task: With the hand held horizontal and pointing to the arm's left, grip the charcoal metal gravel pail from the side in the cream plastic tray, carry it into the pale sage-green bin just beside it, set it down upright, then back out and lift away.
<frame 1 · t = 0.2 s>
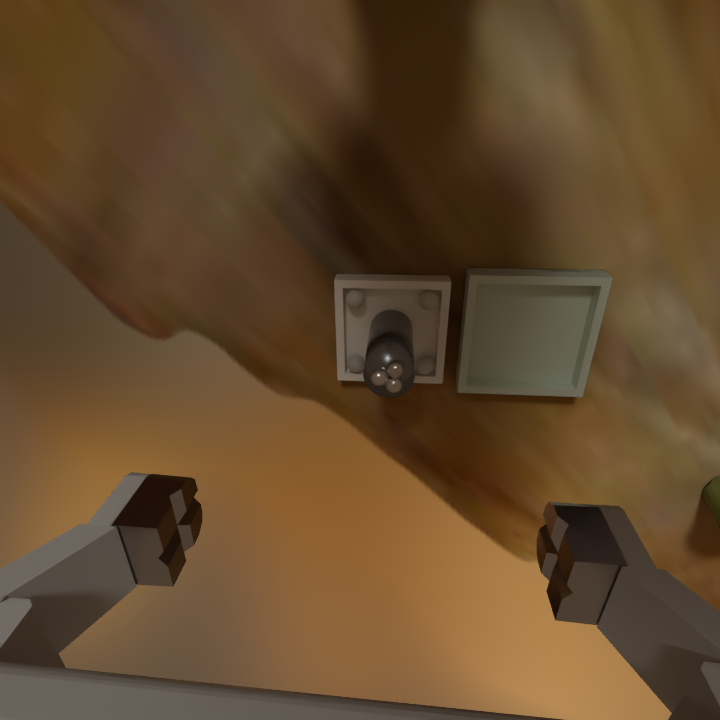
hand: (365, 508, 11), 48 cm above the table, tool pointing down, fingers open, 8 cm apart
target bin: (523, 329, 59), on the table
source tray: (391, 326, 61), on the table
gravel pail: (391, 329, 60), point 1 cm above the table, touching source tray
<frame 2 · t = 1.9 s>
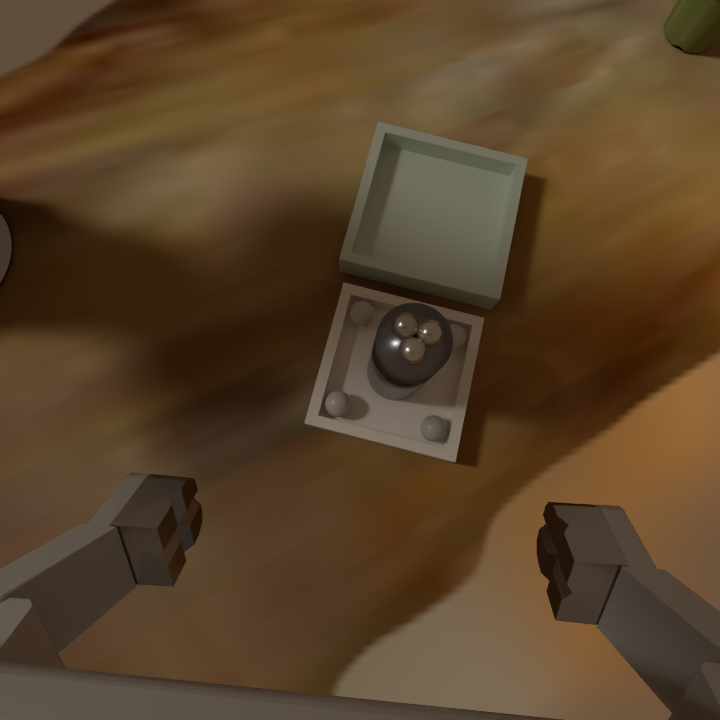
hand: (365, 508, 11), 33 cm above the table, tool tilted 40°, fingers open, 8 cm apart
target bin: (430, 222, 49), on the table
plant pot: (687, 35, 56), on the table
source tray: (394, 373, 45), on the table
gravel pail: (395, 371, 44), point 1 cm above the table, touching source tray
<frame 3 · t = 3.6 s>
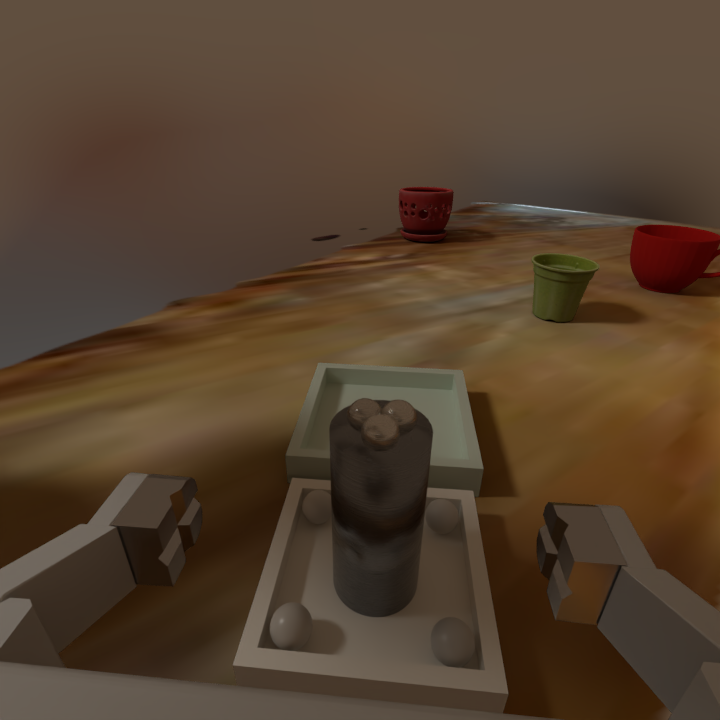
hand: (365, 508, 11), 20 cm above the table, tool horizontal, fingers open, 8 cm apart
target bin: (385, 431, 46), on the table
plant pot: (552, 316, 73), on the table
plant pot 2: (422, 239, 117), on the table
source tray: (374, 586, 31), on the table
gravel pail: (375, 576, 30), point 1 cm above the table, touching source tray
ceramic cup: (670, 290, 84), on the table
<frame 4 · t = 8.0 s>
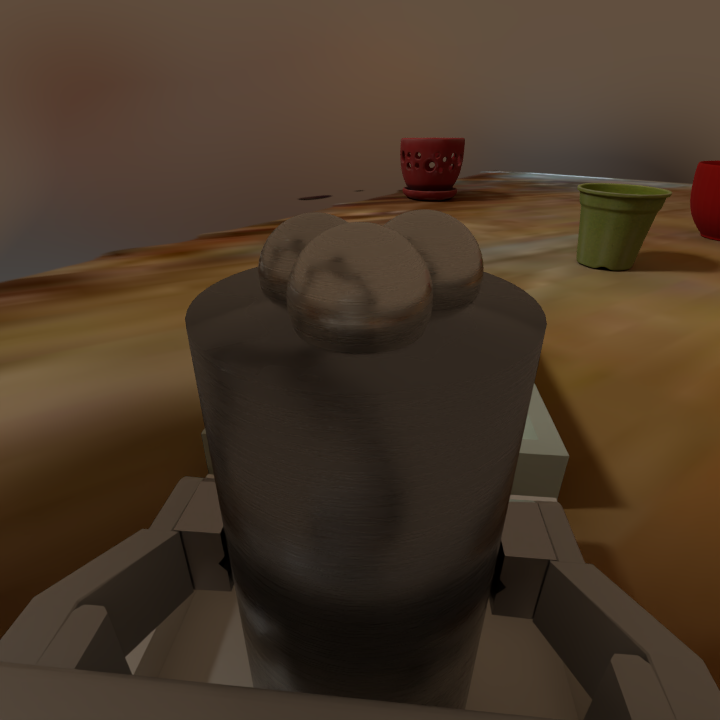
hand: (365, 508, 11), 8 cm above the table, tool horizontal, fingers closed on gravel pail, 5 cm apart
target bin: (385, 402, 28), on the table
plant pot: (603, 265, 56), on the table
plant pot 2: (428, 198, 100), on the table
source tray: (360, 718, 14), on the table
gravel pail: (360, 700, 13), point 1 cm above the table, touching gripper, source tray
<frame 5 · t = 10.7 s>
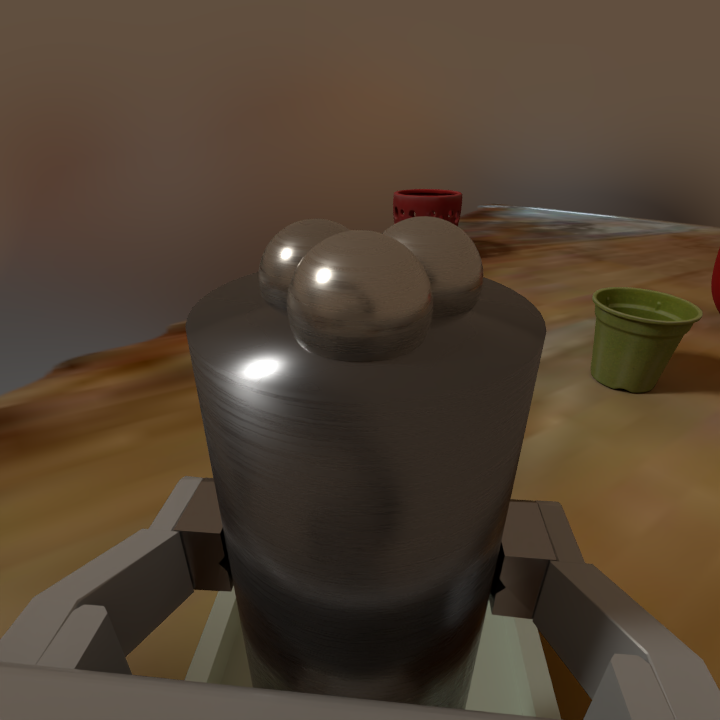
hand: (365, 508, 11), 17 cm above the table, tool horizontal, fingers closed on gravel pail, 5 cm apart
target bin: (367, 706, 22), on the table
plant pot: (621, 380, 49), on the table
plant pot 2: (423, 254, 94), on the table
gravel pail: (360, 703, 13), point 10 cm above the table, touching gripper
when the fingers open (8 cm above the table, at t = 13.2 s): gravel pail stays where it is, resting on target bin.
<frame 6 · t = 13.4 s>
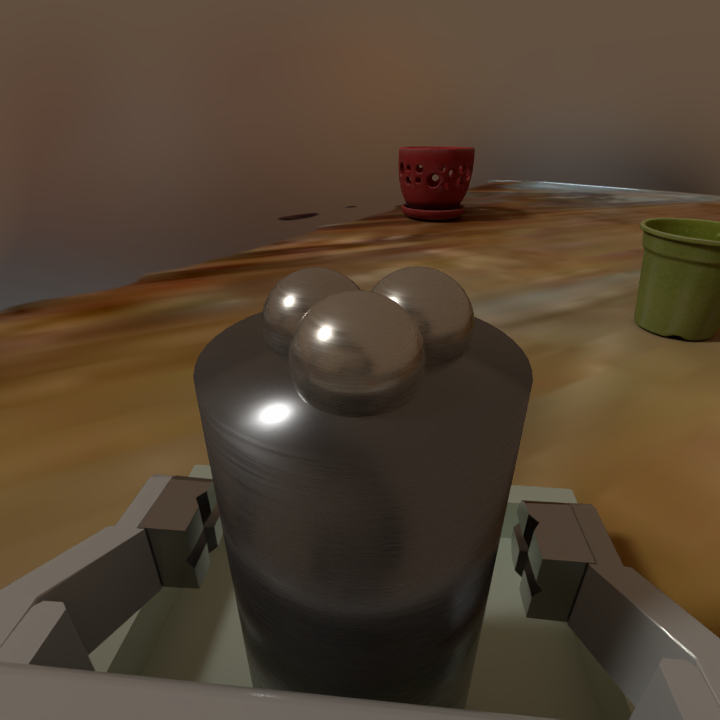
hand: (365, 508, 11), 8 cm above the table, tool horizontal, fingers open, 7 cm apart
plant pot: (671, 329, 41), on the table
plant pot 2: (431, 217, 86), on the table
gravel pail: (360, 718, 13), point 1 cm above the table, touching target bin
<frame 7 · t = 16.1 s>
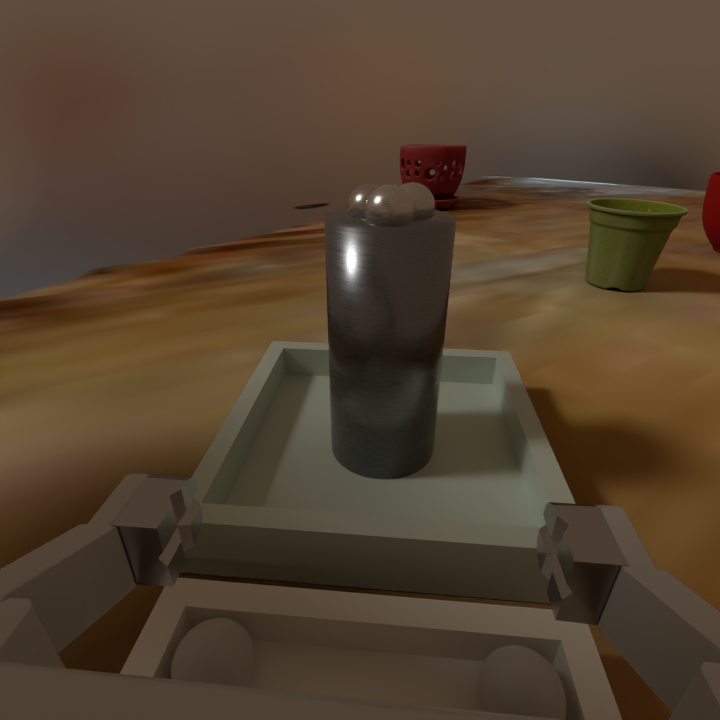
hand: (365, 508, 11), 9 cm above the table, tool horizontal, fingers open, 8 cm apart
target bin: (381, 458, 26), on the table
plant pot: (613, 285, 53), on the table
plant pot 2: (428, 207, 97), on the table
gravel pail: (382, 444, 25), point 1 cm above the table, touching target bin
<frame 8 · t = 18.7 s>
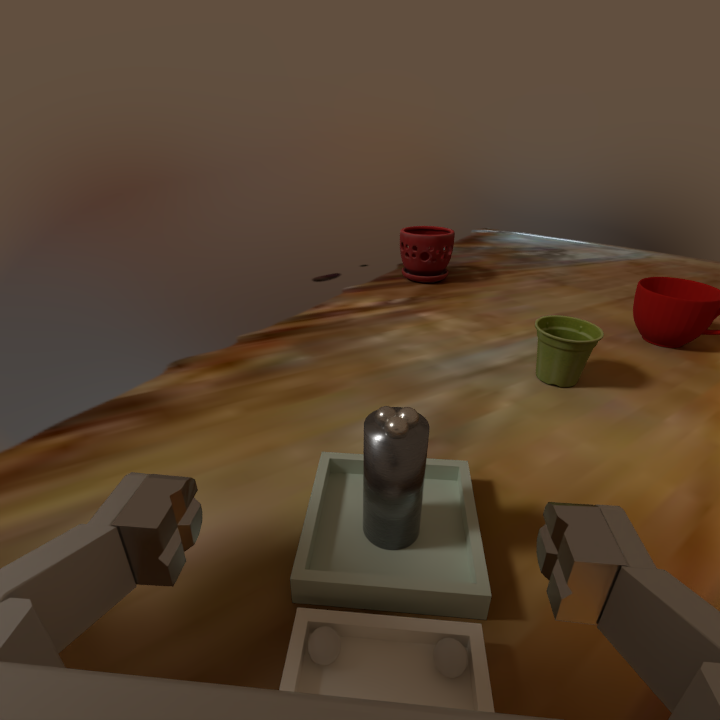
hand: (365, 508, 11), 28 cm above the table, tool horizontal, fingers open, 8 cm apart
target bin: (390, 533, 45), on the table
plant pot: (556, 379, 72), on the table
plant pot 2: (423, 278, 117), on the table
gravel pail: (391, 526, 45), point 1 cm above the table, touching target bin
ceramic cup: (673, 344, 84), on the table
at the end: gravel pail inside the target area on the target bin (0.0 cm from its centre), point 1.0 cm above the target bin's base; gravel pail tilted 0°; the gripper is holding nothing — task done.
